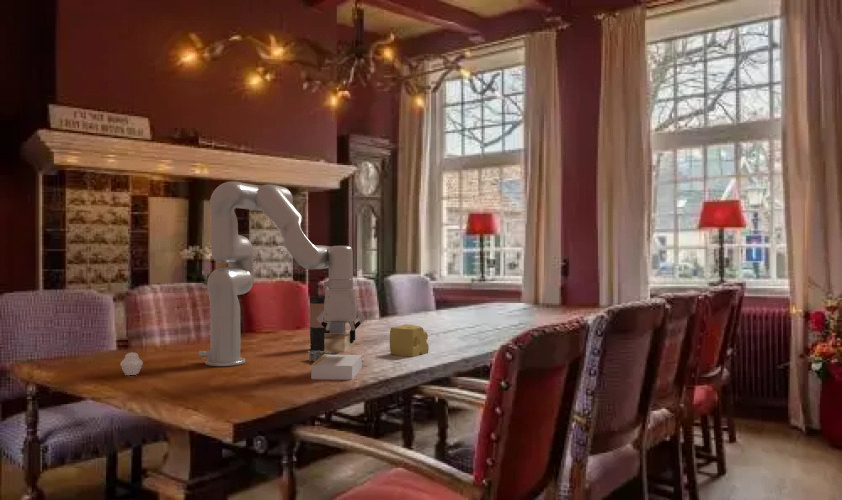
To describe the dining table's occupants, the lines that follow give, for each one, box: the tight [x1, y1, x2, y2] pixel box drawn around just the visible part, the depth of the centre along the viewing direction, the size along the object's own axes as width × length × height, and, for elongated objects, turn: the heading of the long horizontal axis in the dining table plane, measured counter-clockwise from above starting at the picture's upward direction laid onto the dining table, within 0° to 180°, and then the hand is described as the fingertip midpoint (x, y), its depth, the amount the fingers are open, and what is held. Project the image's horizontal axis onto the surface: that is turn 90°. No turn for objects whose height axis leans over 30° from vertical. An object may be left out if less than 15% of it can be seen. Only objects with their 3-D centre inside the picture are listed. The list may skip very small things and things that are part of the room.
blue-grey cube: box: [330, 322, 346, 333], centre depth 197 cm, size 4×4×4 cm
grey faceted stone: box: [120, 351, 144, 376], centre depth 193 cm, size 6×6×7 cm
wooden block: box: [324, 331, 354, 353], centre depth 198 cm, size 6×15×6 cm, turn 177°
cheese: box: [389, 323, 430, 358], centre depth 233 cm, size 10×11×10 cm
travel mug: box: [309, 295, 328, 352], centre depth 243 cm, size 8×8×20 cm
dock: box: [310, 354, 363, 381], centre depth 197 cm, size 12×19×4 cm, turn 177°
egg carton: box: [307, 350, 340, 363], centre depth 218 cm, size 11×8×4 cm
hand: (341, 342), depth 202 cm, fingers closed on wooden block, 6 cm apart
